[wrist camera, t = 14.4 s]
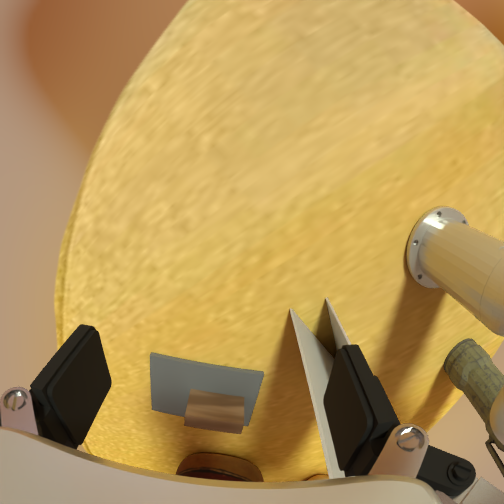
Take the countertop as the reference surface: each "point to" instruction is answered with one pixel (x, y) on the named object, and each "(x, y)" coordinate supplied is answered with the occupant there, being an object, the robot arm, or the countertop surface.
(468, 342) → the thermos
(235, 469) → the ceramic pitcher
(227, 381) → the mat
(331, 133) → the countertop surface
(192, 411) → the brown angular block
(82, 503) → the robot arm
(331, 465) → the thin beige panel
